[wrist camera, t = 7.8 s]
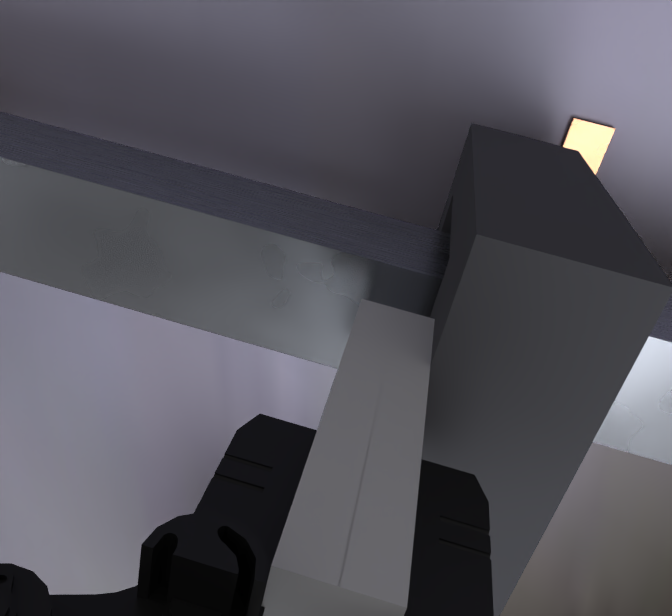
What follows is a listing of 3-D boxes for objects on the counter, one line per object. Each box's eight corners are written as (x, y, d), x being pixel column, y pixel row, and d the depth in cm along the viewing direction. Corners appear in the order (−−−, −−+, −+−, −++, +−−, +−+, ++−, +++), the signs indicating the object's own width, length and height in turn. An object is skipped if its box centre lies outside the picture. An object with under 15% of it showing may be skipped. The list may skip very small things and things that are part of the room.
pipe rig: (-77, 211, 24) (-273, 291, 18) (-106, -58, 20) (-376, -80, 13) (714, 436, 22) (814, 615, 16) (872, 194, 18) (1095, 306, 12)
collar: (398, 355, 21) (358, 574, 13) (471, 122, 17) (476, 234, 10) (485, 380, 21) (498, 617, 13) (578, 150, 17) (674, 287, 9)
